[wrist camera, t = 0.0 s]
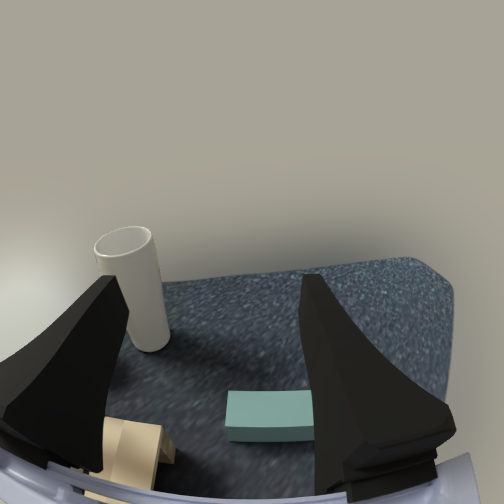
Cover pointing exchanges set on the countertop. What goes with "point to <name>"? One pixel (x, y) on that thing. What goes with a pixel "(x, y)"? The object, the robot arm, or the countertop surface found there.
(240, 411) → the mint green rectangular prism
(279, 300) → the countertop surface
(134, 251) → the drinking glass
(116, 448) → the block
